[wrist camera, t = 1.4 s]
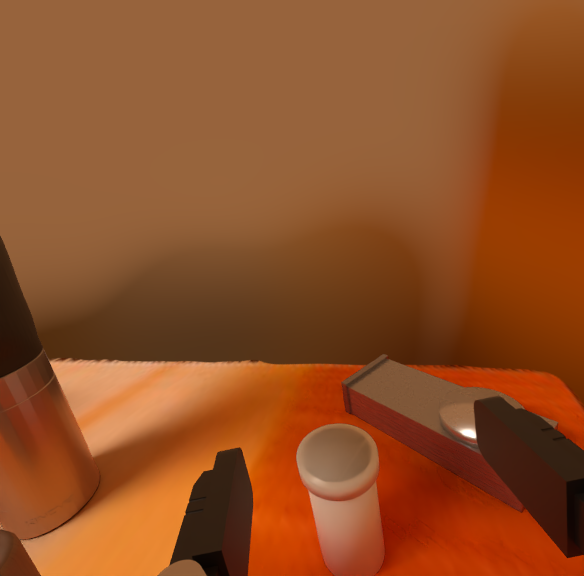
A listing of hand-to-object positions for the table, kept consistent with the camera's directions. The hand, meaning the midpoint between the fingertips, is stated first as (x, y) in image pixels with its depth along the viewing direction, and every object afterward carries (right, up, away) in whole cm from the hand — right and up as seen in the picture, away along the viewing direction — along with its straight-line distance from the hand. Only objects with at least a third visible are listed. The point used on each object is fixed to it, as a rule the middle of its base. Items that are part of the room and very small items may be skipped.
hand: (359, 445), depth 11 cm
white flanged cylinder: (+3, -16, +17) cm, 23 cm away
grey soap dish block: (+14, -11, +27) cm, 32 cm away
